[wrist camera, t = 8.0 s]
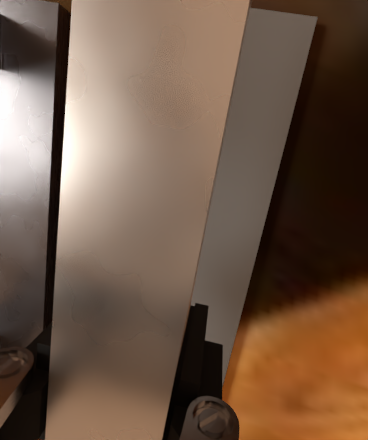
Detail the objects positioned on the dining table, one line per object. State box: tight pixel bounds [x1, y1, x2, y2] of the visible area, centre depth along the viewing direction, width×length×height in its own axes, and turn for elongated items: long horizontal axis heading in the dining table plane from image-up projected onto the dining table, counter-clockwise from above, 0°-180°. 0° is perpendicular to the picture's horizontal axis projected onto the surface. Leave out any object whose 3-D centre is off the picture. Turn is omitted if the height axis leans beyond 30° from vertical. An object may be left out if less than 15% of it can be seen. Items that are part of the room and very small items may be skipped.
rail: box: [45, 0, 252, 440], centre depth 9 cm, size 24×3×3 cm, turn 170°
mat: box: [191, 8, 318, 387], centre depth 17 cm, size 26×9×1 cm, turn 170°
